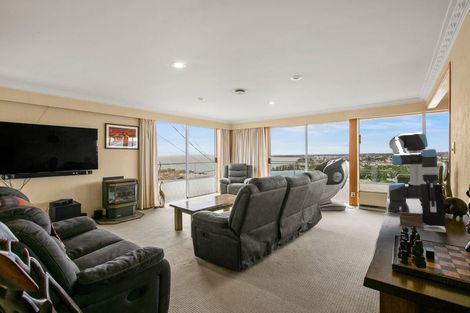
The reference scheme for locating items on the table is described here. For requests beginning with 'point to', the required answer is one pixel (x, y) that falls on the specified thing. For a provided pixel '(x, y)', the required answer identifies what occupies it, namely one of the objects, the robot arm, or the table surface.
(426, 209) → the black tall block
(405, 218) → the book bay
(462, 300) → the table surface
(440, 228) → the felt mat
